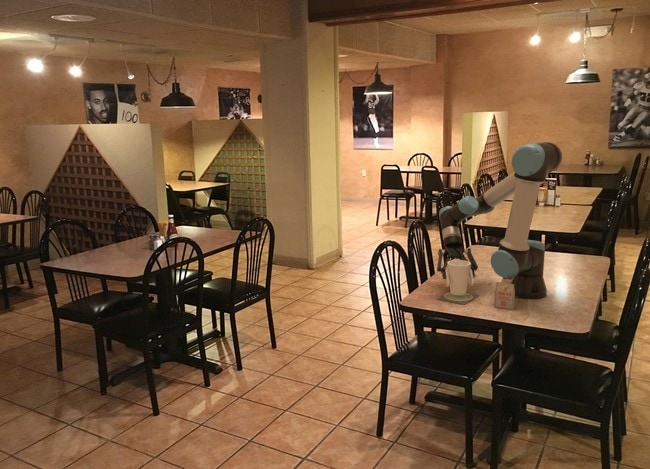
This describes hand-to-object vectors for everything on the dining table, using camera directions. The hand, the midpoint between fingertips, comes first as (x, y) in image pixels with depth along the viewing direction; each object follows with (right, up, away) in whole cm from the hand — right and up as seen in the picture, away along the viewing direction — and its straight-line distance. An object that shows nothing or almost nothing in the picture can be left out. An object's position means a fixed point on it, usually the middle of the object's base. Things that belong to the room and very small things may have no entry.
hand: (460, 285), depth 234 cm
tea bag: (+15, -8, -8) cm, 19 cm away
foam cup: (0, -4, +4) cm, 6 cm away
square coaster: (0, -6, +4) cm, 7 cm away
